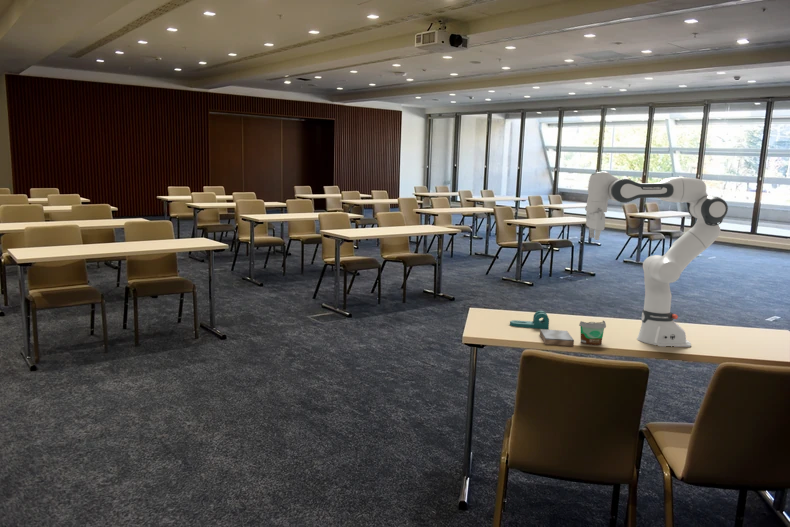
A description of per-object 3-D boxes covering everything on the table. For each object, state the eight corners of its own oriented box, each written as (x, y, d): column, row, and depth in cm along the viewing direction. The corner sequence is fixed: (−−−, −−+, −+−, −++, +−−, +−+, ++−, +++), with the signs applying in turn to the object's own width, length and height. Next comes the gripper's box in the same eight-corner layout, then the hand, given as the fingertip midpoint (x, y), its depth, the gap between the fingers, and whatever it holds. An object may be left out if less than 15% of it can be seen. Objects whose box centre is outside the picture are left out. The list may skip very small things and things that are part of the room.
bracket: (546, 327, 297) (548, 311, 296) (548, 330, 290) (549, 314, 289) (509, 324, 299) (510, 308, 298) (510, 327, 293) (511, 311, 292)
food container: (585, 346, 262) (587, 324, 261) (577, 343, 268) (579, 321, 267) (610, 345, 266) (612, 323, 264) (602, 342, 272) (603, 320, 270)
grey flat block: (566, 337, 278) (566, 330, 277) (573, 346, 262) (574, 339, 262) (539, 335, 279) (540, 329, 278) (545, 345, 263) (545, 338, 263)
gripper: (609, 209, 261) (607, 241, 263) (598, 207, 281) (596, 236, 283) (594, 208, 262) (592, 240, 263) (584, 206, 282) (582, 236, 284)
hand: (594, 238), depth 273 cm, fingers open, 8 cm apart
